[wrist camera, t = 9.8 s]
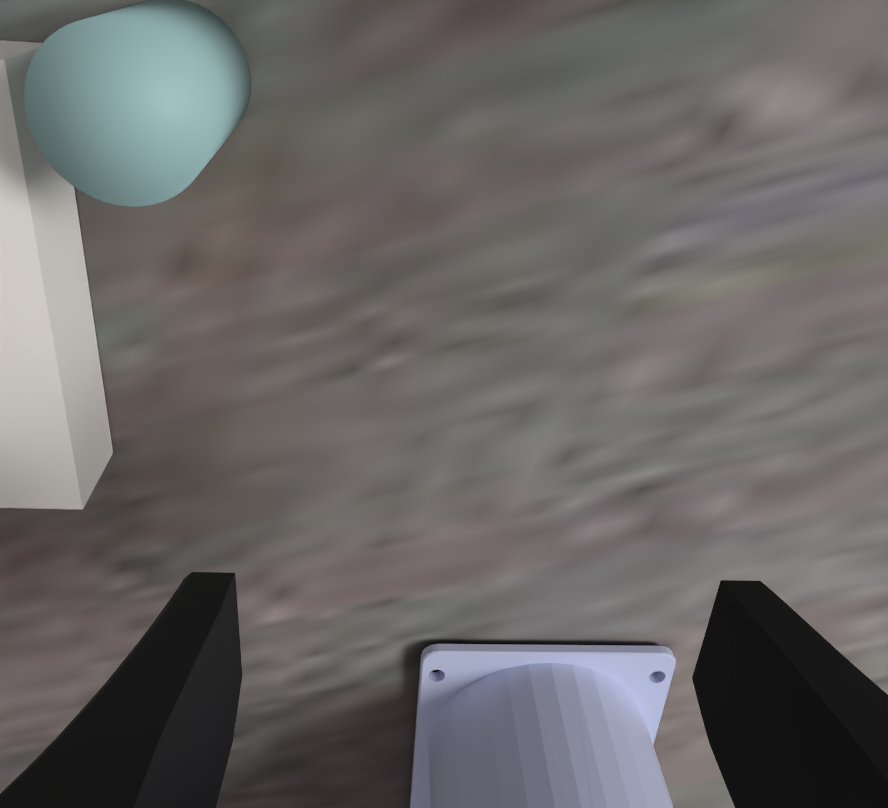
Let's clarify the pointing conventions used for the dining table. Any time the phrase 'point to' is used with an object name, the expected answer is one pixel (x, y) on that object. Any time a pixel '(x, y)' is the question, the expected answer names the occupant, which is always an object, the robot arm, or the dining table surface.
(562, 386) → the dining table surface
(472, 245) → the dining table surface
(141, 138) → the short teal pin
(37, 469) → the collar block
